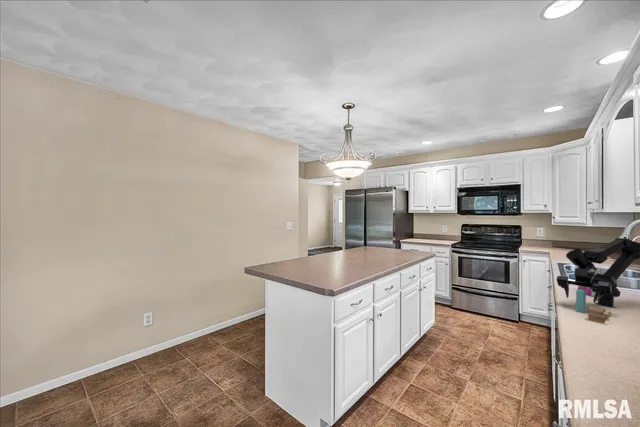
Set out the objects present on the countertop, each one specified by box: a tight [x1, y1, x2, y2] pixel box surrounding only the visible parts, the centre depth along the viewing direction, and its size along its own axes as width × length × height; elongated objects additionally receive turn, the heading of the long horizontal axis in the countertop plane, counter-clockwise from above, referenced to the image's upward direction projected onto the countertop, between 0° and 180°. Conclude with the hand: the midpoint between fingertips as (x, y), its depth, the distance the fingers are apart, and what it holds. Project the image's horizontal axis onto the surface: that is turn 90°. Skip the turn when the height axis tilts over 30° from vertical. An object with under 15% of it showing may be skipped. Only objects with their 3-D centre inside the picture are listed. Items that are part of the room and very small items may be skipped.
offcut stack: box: [587, 306, 606, 324], centre depth 121 cm, size 5×5×4 cm
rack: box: [584, 306, 613, 326], centre depth 124 cm, size 18×7×4 cm, turn 129°
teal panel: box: [575, 288, 587, 314], centre depth 132 cm, size 5×2×11 cm, turn 128°
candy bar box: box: [577, 265, 602, 298], centre depth 162 cm, size 11×5×16 cm, turn 168°
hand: (580, 299), depth 131 cm, fingers open, 9 cm apart
